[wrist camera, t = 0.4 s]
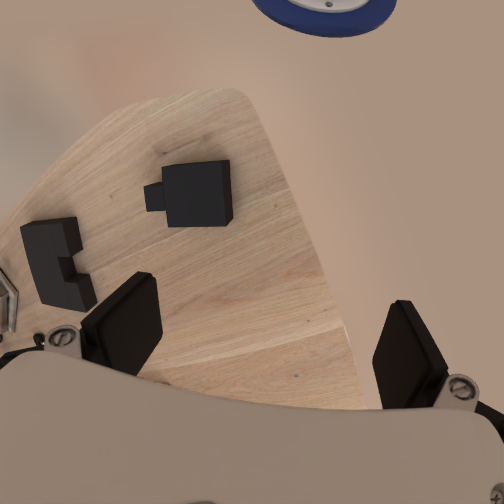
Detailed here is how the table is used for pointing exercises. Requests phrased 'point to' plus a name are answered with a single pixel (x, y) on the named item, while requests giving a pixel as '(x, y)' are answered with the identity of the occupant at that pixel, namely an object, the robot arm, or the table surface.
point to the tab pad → (193, 194)
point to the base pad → (57, 263)
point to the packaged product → (7, 305)
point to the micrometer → (38, 339)
